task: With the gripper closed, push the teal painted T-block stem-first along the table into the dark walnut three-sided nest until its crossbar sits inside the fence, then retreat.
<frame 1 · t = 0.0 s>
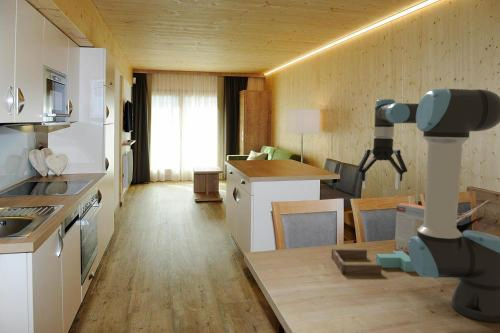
hand: (380, 188, 161), 28 cm above the table, fingers open, 13 cm apart
t block: (392, 265, 151), on the table
cracker box: (412, 254, 165), on the table
nest: (354, 265, 151), on the table
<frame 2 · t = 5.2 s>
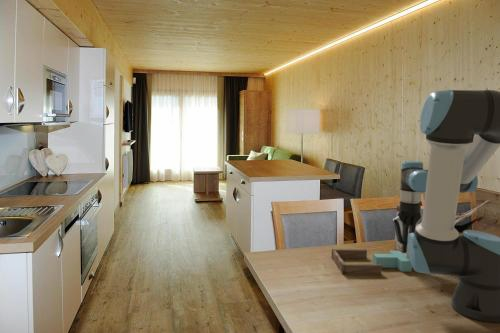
hand: (407, 260, 151), 2 cm above the table, fingers closed
t block: (389, 265, 151), on the table, touching gripper
everything else where it was.
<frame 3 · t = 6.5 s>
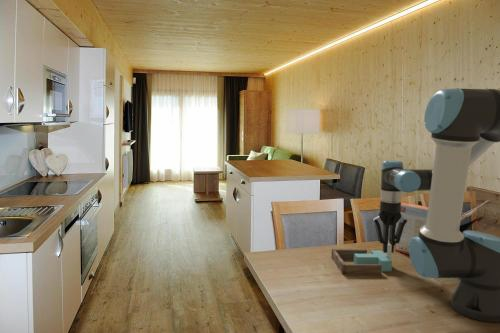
hand: (387, 260, 151), 2 cm above the table, fingers closed
t block: (370, 265, 151), on the table, touching gripper
everything else where it was.
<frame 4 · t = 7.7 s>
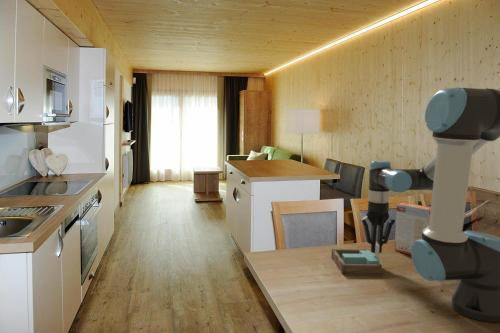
hand: (375, 260, 151), 2 cm above the table, fingers closed
t block: (358, 265, 151), on the table, touching gripper
everything else where it was.
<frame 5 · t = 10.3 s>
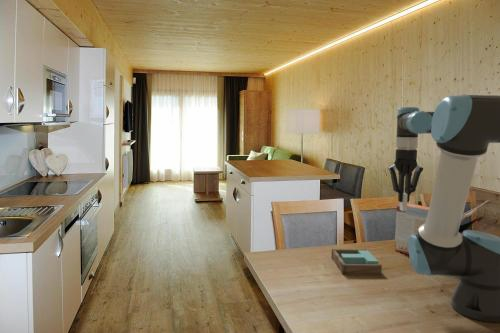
hand: (403, 210, 148), 22 cm above the table, fingers closed
t block: (357, 265, 151), on the table
everything else where it was.
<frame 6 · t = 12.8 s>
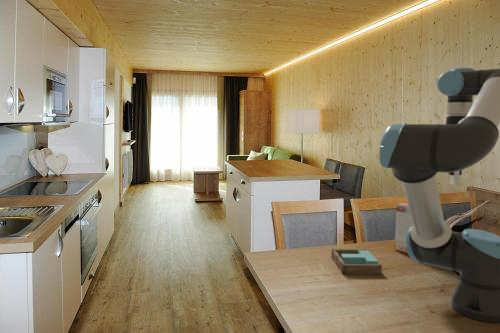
hand: (454, 184, 134), 34 cm above the table, fingers closed
nothing on the table moved.
at the end: t block inside the target area on the nest (0.1 cm from its centre), point 0.0 cm above the nest's base; t block tilted 0° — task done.
